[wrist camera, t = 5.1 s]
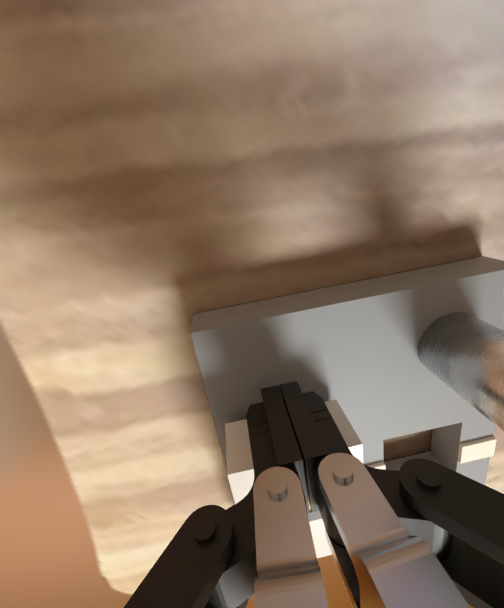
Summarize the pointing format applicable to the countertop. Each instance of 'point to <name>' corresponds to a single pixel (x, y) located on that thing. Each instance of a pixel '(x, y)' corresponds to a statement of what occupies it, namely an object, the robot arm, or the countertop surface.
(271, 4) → the countertop surface
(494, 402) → the silver brown cylinder
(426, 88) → the countertop surface
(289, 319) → the board
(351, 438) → the finder
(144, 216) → the countertop surface
